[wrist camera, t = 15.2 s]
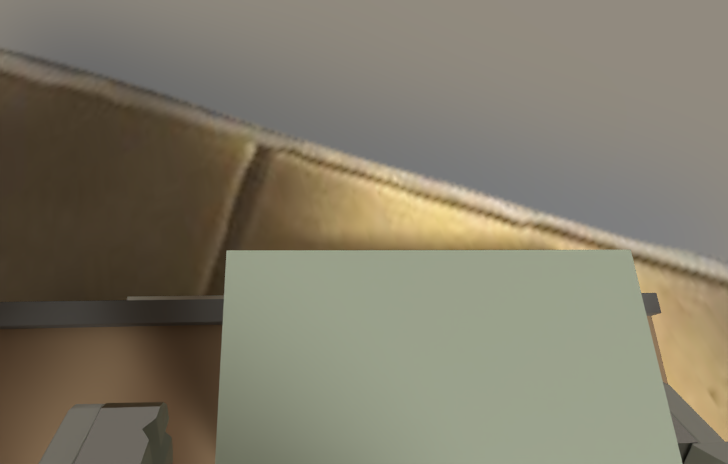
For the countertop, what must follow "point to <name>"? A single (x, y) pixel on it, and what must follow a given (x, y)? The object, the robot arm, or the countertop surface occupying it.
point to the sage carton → (438, 359)
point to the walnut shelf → (121, 366)
